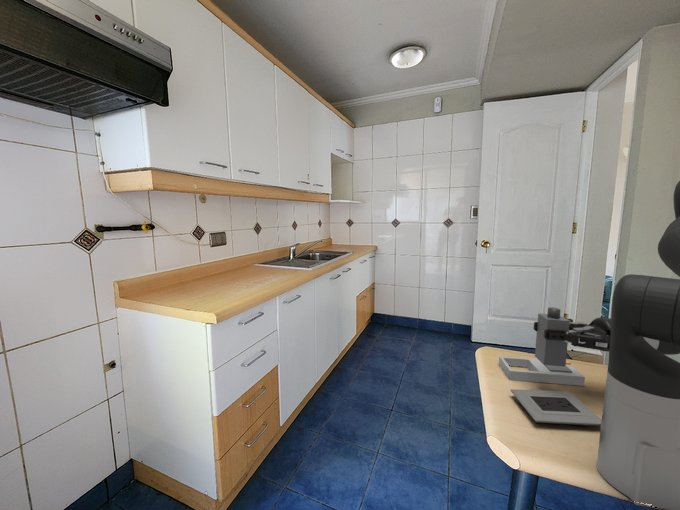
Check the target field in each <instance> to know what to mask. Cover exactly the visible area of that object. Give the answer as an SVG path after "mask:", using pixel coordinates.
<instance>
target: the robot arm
mask: <svg viewBox="0 0 680 510" xmlns="http://www.w3.org/2000/svg"><path fill="white" fill-rule="evenodd" d="M673 210H674V218H675V219H674V220H673V221H672V222H671V223H669V225H668V226H667V227H666V229H665V230H664V232H663V234H662V236H661V238H660V240H659V241H658V244H657V253H658V256H659V257H660V260H661V261H662V262H663V263H664V265H665V266H666V267H667V268H668V269H669V270H670V271H672V272H673V273H674V274H675V275H677V277H679V278H680V180H678V182H676V184H675V187H674V192H673ZM679 278H673V277H672V278H671V277H664V276H663V277H662V276H652V275H643V274H634V273H633V274H626V275H624V276H622V277H620V278H619V280H618V281H617V283H616V285H615V286H614V291H613V295H612V299H611V317H610V318H609V317H596V318H594V319H592V321H591V322H590V323H589V324H588V323H586V322H581V321H577V322H574V319H572V318H566V319H567V320H569V321H570V325H569V330H566V331H562V330H547V329H546V330H544V338H545V339H547V340H560V341H563V340H564V342H566V343H568V344H571V346H573V347H578V348H585V349H591V350H597V351H601V352H608V365H607V373H606V380H605V389H604V398H603V406H602V413H601V419H602V421H601V426H600V429H599V430H600V432H599V441H598V449H597V459H596V467H597V470H598V472H599V475H600V476H601V477H602V478H603V479H604V480H605V481H607V483H608V484H609V485H610V486H612V487H613V488H614V489H616V490H617V491H619V492H620V493H621V494H623V495H625V496H626V497H628V498H629V499H630V500H631V501H632V502H633V501H635V502H633V504H635V505H636V506H640V507H647V508H655V507H657V508H655V509H660V510H680V362H679V361H677V360H675V359H673V358H672V357H669V356H670V355H671V356H672V355H673V356H674V355H679V354H680V279H679ZM537 325H538V321H534V323H533V330H534V331H535V332H537ZM667 355H668V356H667ZM636 502H639V503H636ZM641 502H642V503H644V504H646V503H647V504H652V505H651V506H654V507H651V506H647V505H644V504H640V503H641Z"/></svg>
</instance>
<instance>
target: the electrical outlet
mask: <svg viewBox="0 0 680 510" xmlns="http://www.w3.org/2000/svg"><path fill="white" fill-rule="evenodd" d="M510 392H511V394H513V396H514V397H515V398H516V399H517V401H518V402H519V403H520V404H521V405H522V407H523V409H525V411H526V412H527V413H528V414H529V416H530V417H531V418H532V420H533V421H535V423H539V424H551V425H553V424H554V425H555V424H556V425H570V426H571V425H574V426H575V425H576V426H590V427H591V426H592V427H601V421H602V418H601V417H599V416H598V414H596V413H595V412H594V411H593V410H592V409H591V408H589V407H588V406H587V405H586V404H585V403H583V402H582V401H581V400H580V399H579V398H578V397H577V396H576V395H574V394H573V393H572V392H571V391H561V390H560V391H559V390H558V391H557V390H538V389H537V390H536V389H533V390H532V389H517V388H516V389H515V388H514V389H513V388H511V389H510Z"/></svg>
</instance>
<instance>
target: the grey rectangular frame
mask: <svg viewBox="0 0 680 510" xmlns="http://www.w3.org/2000/svg"><path fill="white" fill-rule="evenodd" d="M499 364H500V365H499ZM498 365H499V367H500V366H501V367H500V368H501V369H503V370H502V371H503V373H504V374H505V375H506V377H507V378H508V380H511V381H522V382H523V381H524V382H532V383H535V382H536V383H546V384H557V385H558V384H560V385H567V386H568V385H570V386H580V387H582V386H585V379H586V376H584V374H582V372H580V371H578V370H577V369H576V368H575V367H574V366H573V365H572V362H570V361H569V360H566V366H565V367H563V366H551V365H543V364H542V363H541V362H540V361H539V360H538V359H537V358H530V357H529V358H528V357H512V356H501V355H499V356H498ZM509 365H510V366H509ZM513 366H523V367H522V368H526V367H528V368H527V369H528V370H521V369H512V367H513ZM529 369H530V370H531V371H530V370H529Z"/></svg>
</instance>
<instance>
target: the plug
mask: <svg viewBox="0 0 680 510" xmlns="http://www.w3.org/2000/svg"><path fill="white" fill-rule="evenodd" d="M567 319H568V318H565V317H564V316H562V315H561V309H560V308H557V307H550V306H549V307H547V313H538V314H537V322H538V325H537V331H536V338H535V348H534V349H535V351H534V358H535V359H538V360H539V361H540V362H541V363H542V364H543V365H551V366H563V367H565V366H566V361H567V352H568V344H569V343H566V342H564V340H563V341H560V340H547V339H545V338H544V330H546V329H547V330H562V331H566V330H569V325H570V321H569V320H567Z"/></svg>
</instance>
